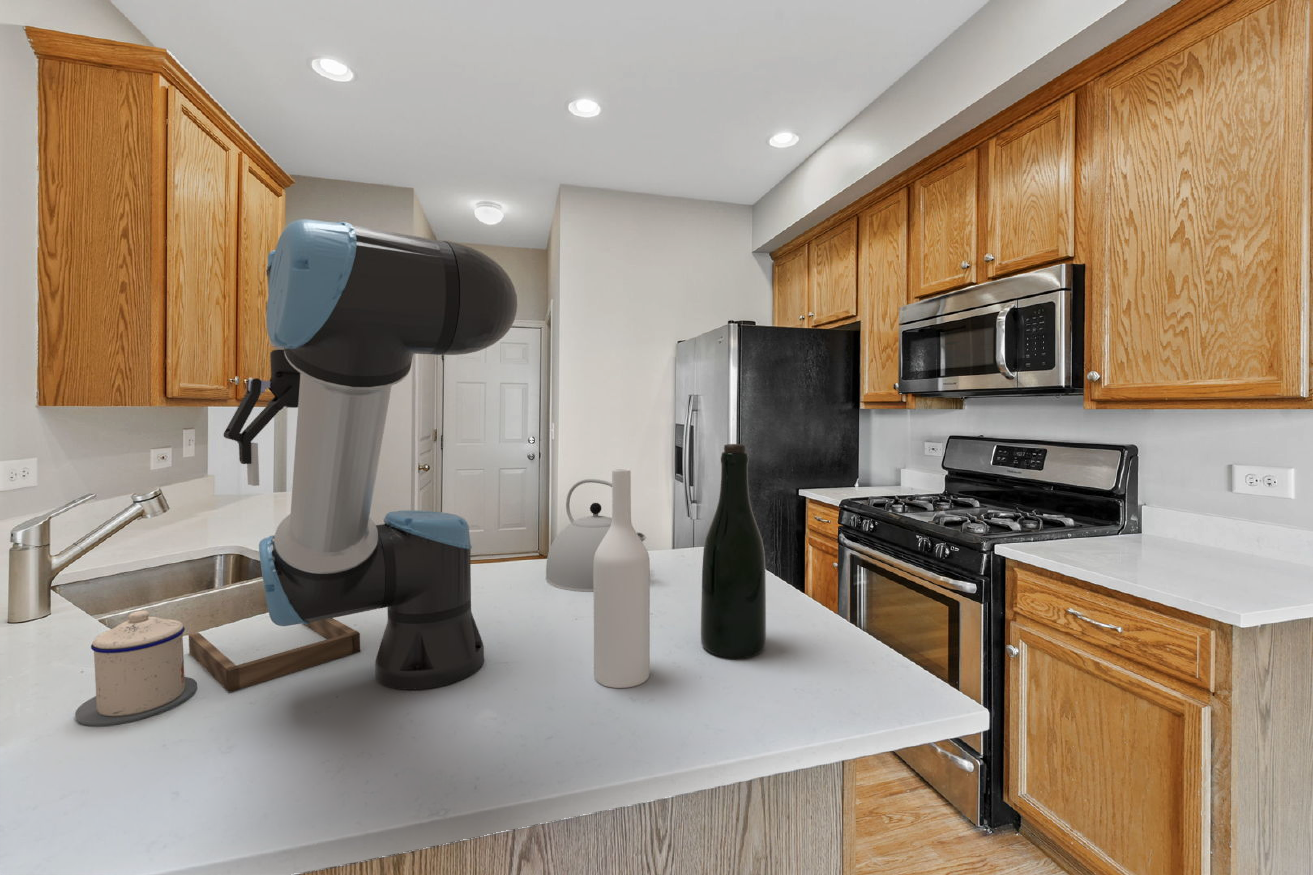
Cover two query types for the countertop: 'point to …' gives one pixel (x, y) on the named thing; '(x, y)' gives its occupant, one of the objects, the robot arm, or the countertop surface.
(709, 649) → the dark green wine bottle
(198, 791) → the countertop surface
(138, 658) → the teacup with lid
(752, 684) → the countertop surface
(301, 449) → the robot arm
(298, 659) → the wooden tray
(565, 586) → the kettle
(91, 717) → the coaster
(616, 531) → the bottle
